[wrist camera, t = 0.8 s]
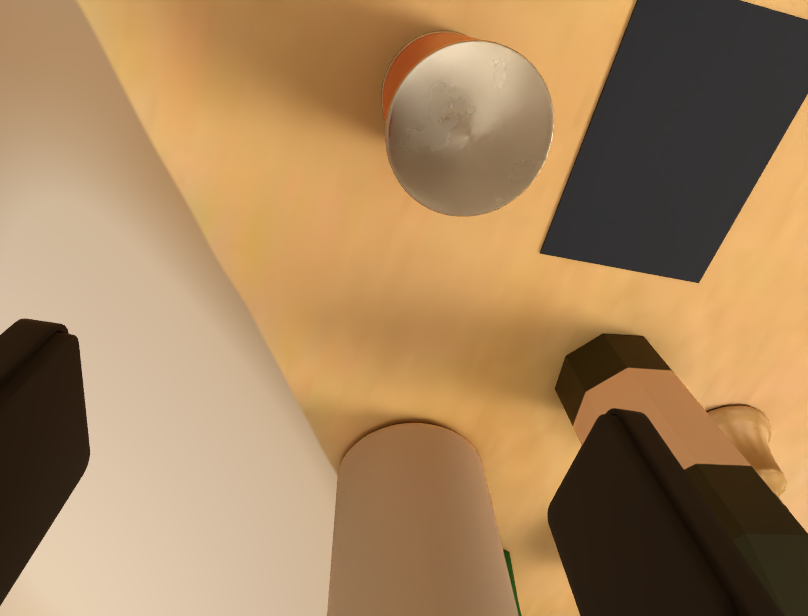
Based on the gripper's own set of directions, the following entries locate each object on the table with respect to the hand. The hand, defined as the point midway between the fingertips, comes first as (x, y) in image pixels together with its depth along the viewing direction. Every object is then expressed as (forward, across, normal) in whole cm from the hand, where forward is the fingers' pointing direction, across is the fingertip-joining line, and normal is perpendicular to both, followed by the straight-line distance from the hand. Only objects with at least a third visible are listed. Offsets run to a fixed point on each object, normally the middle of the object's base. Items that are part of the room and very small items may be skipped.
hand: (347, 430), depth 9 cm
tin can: (+24, -4, -4) cm, 24 cm away
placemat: (+24, -19, -4) cm, 30 cm away
